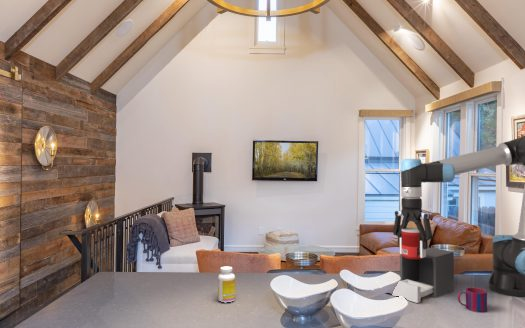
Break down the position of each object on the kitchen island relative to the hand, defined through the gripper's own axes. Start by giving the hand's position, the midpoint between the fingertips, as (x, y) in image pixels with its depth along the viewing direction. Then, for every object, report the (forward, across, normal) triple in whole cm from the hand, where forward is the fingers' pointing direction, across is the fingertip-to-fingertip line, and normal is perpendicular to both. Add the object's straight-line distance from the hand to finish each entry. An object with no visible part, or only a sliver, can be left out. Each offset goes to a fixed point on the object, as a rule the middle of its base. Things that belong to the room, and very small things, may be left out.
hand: (412, 255), depth 149 cm
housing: (+17, -2, +14) cm, 22 cm away
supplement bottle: (+16, -44, -59) cm, 75 cm away
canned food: (+1, 0, 0) cm, 1 cm away
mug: (+17, +19, +6) cm, 27 cm away
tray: (+17, -3, +3) cm, 17 cm away
